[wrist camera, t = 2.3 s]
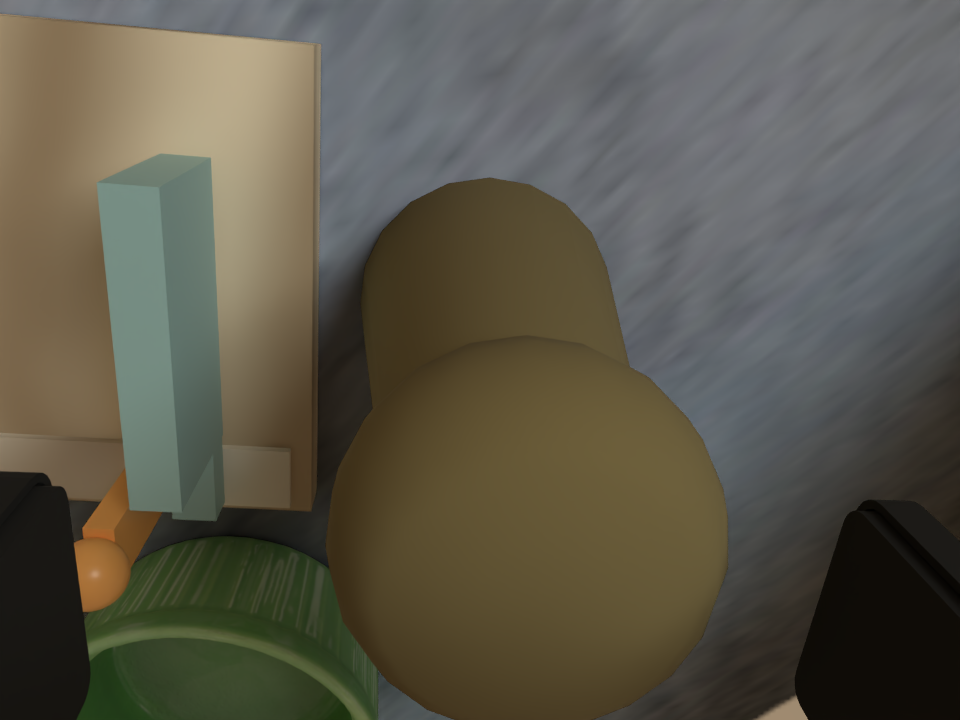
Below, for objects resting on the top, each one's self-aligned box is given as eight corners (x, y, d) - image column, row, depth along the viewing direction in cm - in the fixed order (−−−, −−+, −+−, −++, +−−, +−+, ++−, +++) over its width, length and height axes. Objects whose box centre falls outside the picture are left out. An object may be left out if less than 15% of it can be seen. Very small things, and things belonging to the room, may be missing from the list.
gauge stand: (320, 44, 16) (261, 52, 11) (317, 490, 21) (272, 658, 15) (-266, -12, 15) (-655, -34, 10) (-143, 467, 20) (-368, 637, 14)
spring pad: (210, 157, 16) (159, 187, 13) (225, 499, 19) (186, 586, 16) (160, 153, 16) (96, 182, 13) (183, 497, 19) (137, 583, 16)
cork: (621, 179, 18) (860, 380, 8) (599, 415, 20) (760, 803, 10) (354, 175, 17) (243, 378, 7) (364, 415, 20) (288, 818, 10)
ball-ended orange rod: (183, 449, 18) (111, 569, 14) (186, 500, 19) (117, 629, 15) (121, 446, 18) (31, 566, 14) (126, 497, 19) (41, 627, 15)
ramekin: (169, 783, 25) (116, 930, 21) (19, 566, 21) (-80, 693, 17) (436, 710, 24) (435, 847, 20) (325, 474, 21) (298, 583, 17)
